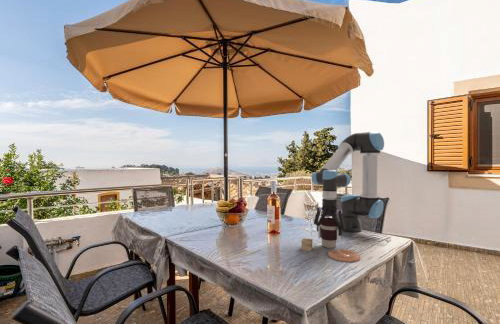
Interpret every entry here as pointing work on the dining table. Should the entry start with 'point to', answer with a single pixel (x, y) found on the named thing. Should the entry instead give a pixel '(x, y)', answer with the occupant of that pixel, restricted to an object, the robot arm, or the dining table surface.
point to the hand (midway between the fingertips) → (328, 239)
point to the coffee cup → (328, 232)
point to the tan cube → (306, 244)
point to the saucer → (344, 255)
